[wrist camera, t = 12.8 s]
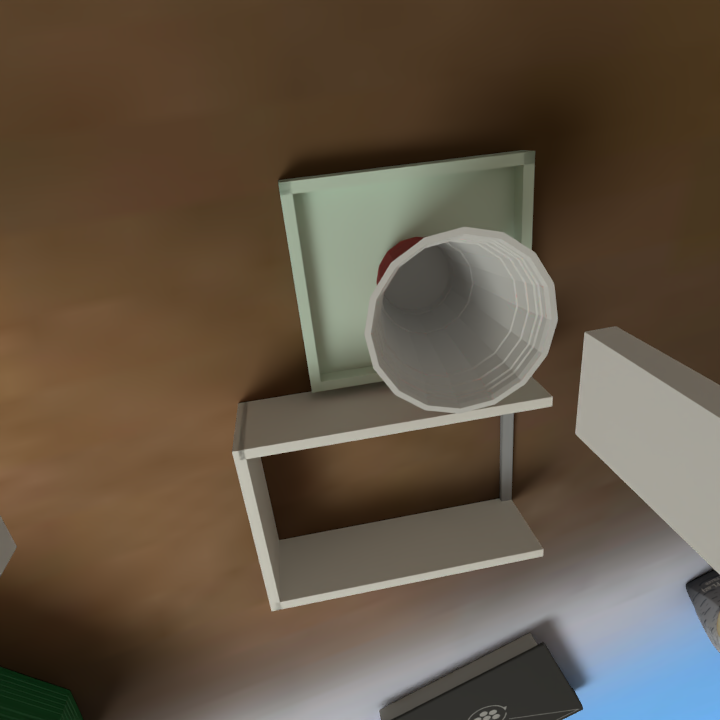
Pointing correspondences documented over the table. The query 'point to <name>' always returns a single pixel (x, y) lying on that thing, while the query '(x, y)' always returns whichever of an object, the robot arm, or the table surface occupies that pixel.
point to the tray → (385, 240)
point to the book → (495, 689)
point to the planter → (34, 699)
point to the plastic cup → (460, 319)
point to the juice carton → (707, 604)
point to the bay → (382, 538)
